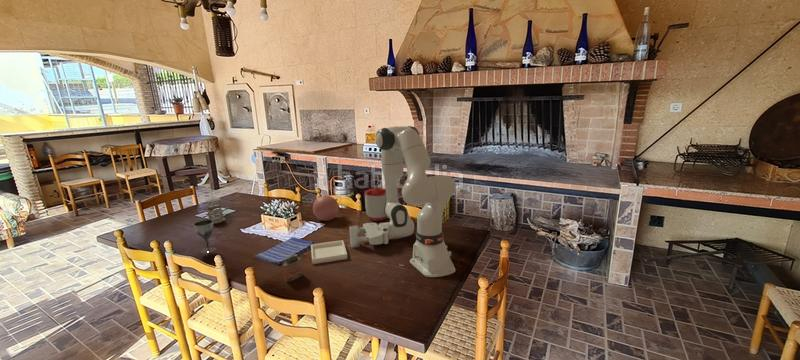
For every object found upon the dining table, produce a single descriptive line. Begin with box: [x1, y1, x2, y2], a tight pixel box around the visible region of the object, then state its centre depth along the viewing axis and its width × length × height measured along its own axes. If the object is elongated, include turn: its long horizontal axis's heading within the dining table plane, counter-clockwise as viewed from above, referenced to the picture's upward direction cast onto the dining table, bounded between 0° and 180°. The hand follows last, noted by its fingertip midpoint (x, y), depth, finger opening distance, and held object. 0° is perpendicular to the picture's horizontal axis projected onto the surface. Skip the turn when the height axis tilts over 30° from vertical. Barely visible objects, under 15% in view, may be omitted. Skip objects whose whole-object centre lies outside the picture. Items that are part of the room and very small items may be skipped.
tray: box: [310, 239, 348, 265], centre depth 162 cm, size 16×16×2 cm
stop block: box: [348, 224, 360, 249], centre depth 169 cm, size 4×4×10 cm
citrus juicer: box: [363, 186, 388, 222], centre depth 205 cm, size 16×17×20 cm
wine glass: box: [193, 219, 217, 255], centre depth 167 cm, size 8×8×15 cm
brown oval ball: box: [312, 195, 340, 222], centre depth 206 cm, size 15×20×15 cm
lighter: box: [282, 254, 303, 283], centre depth 141 cm, size 8×3×10 cm, turn 141°
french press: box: [204, 181, 227, 224], centre depth 207 cm, size 10×12×25 cm
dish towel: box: [254, 236, 315, 266], centre depth 166 cm, size 17×24×3 cm
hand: (357, 235), depth 169 cm, fingers open, 8 cm apart
